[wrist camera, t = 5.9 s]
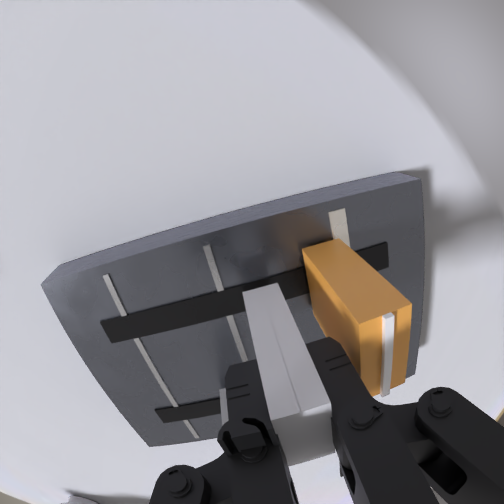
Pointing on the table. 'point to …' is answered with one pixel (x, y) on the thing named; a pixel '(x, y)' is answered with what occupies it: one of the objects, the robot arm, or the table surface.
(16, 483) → the table surface
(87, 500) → the teacup
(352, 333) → the fader orange
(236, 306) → the console
